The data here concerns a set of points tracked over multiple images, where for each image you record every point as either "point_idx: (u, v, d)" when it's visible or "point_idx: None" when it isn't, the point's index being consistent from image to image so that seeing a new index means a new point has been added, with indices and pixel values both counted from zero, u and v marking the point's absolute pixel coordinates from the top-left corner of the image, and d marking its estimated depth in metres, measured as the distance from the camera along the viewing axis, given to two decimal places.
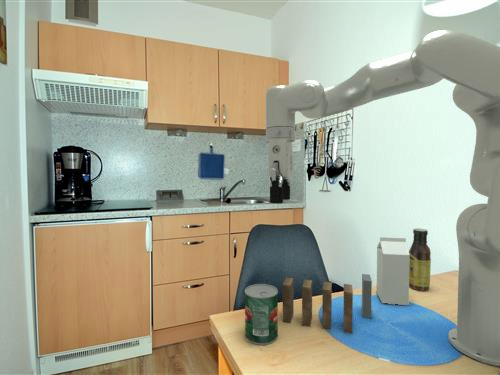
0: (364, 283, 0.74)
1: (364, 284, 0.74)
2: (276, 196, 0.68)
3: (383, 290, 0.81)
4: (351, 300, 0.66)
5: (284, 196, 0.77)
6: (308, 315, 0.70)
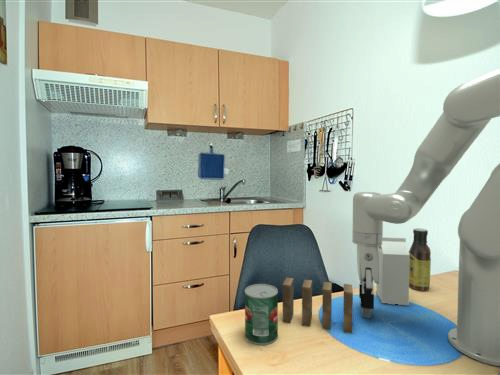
0: None
1: (364, 284, 0.74)
2: (368, 303, 0.73)
3: (383, 290, 0.81)
4: (351, 300, 0.66)
5: None
6: (308, 315, 0.70)
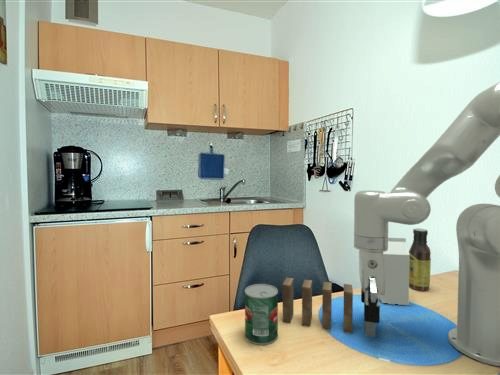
0: None
1: None
2: (373, 316, 0.62)
3: None
4: (351, 300, 0.66)
5: None
6: (308, 315, 0.70)
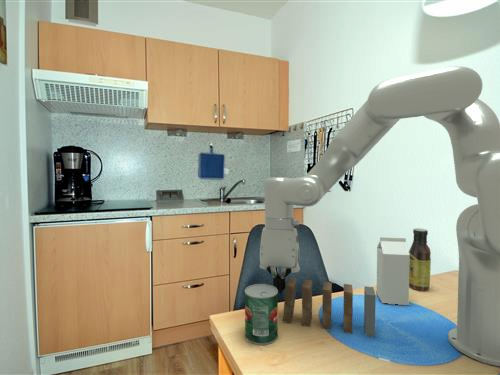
0: (367, 298, 0.65)
1: (367, 299, 0.65)
2: (284, 285, 0.74)
3: (383, 290, 0.81)
4: (351, 300, 0.66)
5: None
6: (308, 315, 0.70)
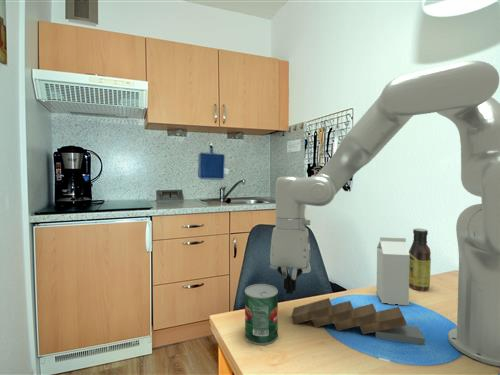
0: (420, 339, 0.62)
1: (419, 338, 0.62)
2: (295, 286, 0.73)
3: (383, 290, 0.81)
4: (397, 325, 0.63)
5: None
6: (325, 323, 0.69)
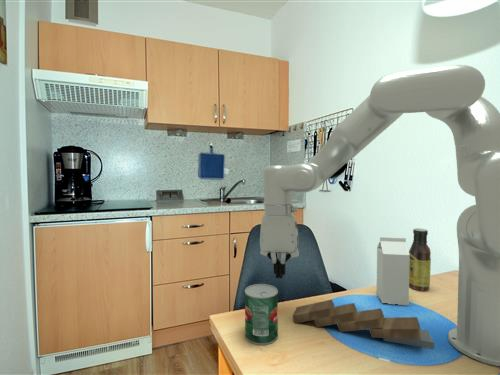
0: (429, 342, 0.61)
1: (428, 342, 0.61)
2: (284, 270, 0.76)
3: (383, 290, 0.81)
4: (410, 336, 0.60)
5: None
6: (326, 323, 0.68)
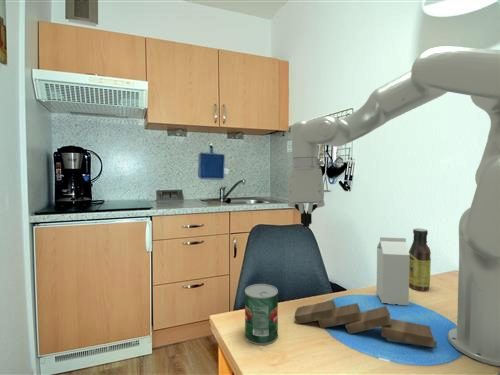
0: None
1: None
2: (311, 220, 0.82)
3: (383, 290, 0.81)
4: (422, 343, 0.60)
5: None
6: (331, 324, 0.68)
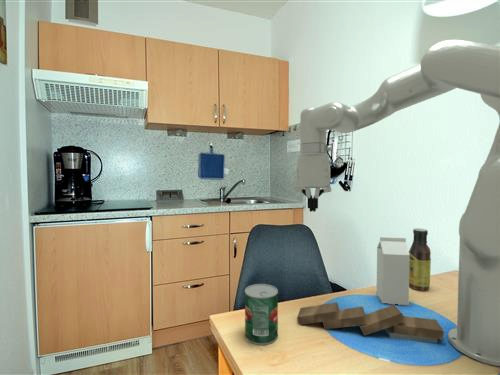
0: (433, 338, 0.63)
1: (432, 338, 0.63)
2: (317, 205, 0.84)
3: (383, 290, 0.81)
4: (434, 337, 0.62)
5: (312, 207, 0.85)
6: (335, 326, 0.68)
